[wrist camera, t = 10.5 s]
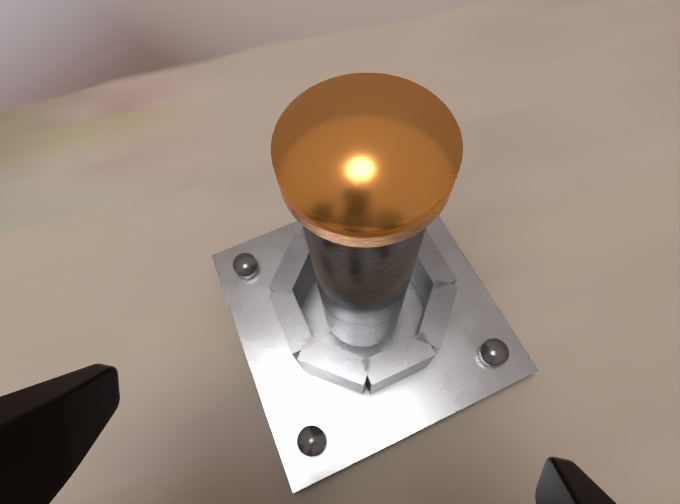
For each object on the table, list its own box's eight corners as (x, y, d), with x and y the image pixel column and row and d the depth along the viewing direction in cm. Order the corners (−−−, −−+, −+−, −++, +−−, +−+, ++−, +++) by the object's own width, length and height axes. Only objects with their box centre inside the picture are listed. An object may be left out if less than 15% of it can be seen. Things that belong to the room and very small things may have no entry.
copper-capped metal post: (422, 309, 20) (502, 137, 9) (363, 372, 19) (369, 265, 8) (360, 255, 22) (362, 47, 10) (301, 310, 21) (232, 145, 9)
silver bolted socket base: (530, 374, 20) (568, 356, 16) (296, 491, 18) (280, 501, 15) (410, 184, 25) (418, 139, 21) (217, 263, 23) (190, 228, 19)
